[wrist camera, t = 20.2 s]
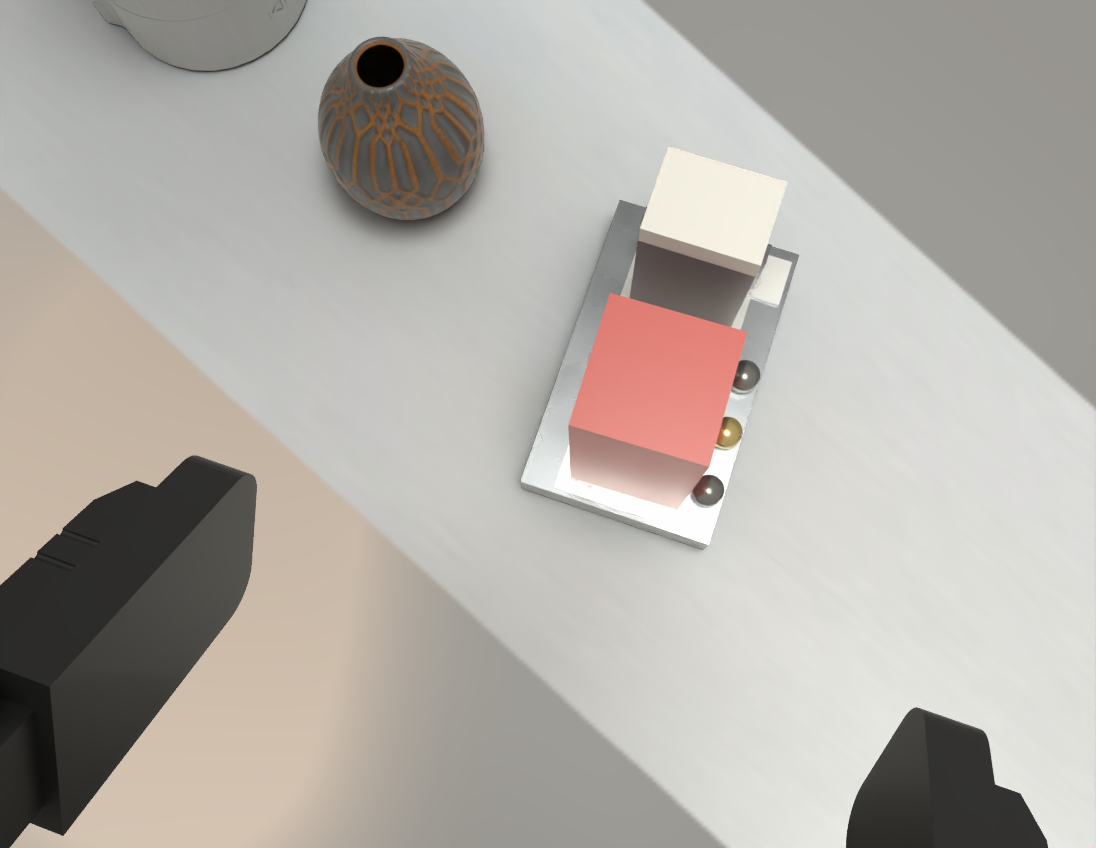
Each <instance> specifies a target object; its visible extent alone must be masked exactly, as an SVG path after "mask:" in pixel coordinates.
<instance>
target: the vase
mask: <svg viewBox="0 0 1096 848" xmlns="http://www.w3.org/2000/svg"><path fill="white" fill-rule="evenodd" d="M318 130H319V139H320V144H321V148H322V151H323V154H324V157H325V159H326V162H327V164H328V166H329V168H330V170H331V172H332V173H333V175H334V177H335V178H336V180H337V181H338V183H339V184H340V185H341V187H342V188H343V189H344V190H345V191H346V192H347V194H348V195H349V196H351V197H352V198H353V199H354V200H355V201H357V202H358V203H359V204H361V205H362V206H364V207H365V208H367V209H369V210H370V211H373V212H375V213H377V214H379V215H382V216H385V217H388V218H393V219H400V220H416V219H423V218H427V217H431V216H434V215H436V214H438V213H441V212H442V211H444V210H446V209H448V208H449V207H450V206H452V205H453V204H454V203H456V202H457V201H458V200H459V199H460V198H461V197H462V196H463V195H464V194H465V193H466V191H467V190H468V189H469V187H470V186H471V184H472V182H473V180H474V179H475V177H476V175H477V172H478V170H479V167H480V164H481V160H482V156H483V151H484V126H483V118H482V113H481V109H480V106H479V102H478V100H477V97H476V95H475V93H474V91H473V89H472V87H471V85H470V84H469V82H468V81H467V79H466V78H465V76H464V75H463V74H462V72H461V71H460V70H459V69H458V68H457V67H456V66H455V65H454V64H453V63H452V62H451V61H450V60H449V59H448V58H447V57H446V56H444V55H443V54H442V53H440V52H439V51H437V50H435V49H434V48H432V47H430V46H428V45H425V44H423V43H420V42H417V41H413V40H408V39H399V38H388V37H375V38H371V39H368V40H366V41H364V42H363V43H361V44H360V45H359V46H358V47H357V48H356V49H355V50H354V51H353V52H351V53H350V54H348V55H347V56H346V57H345V58H344V59H343V60H342V61H341V62H340V63H339V64H338V65H337V66H336V68H335V69H334V70H333V72H332V73H331V75H330V76H329V78H328V80H327V82H326V85H325V87H324V90H323V92H322V96H321V100H320V105H319V114H318Z"/></svg>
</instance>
